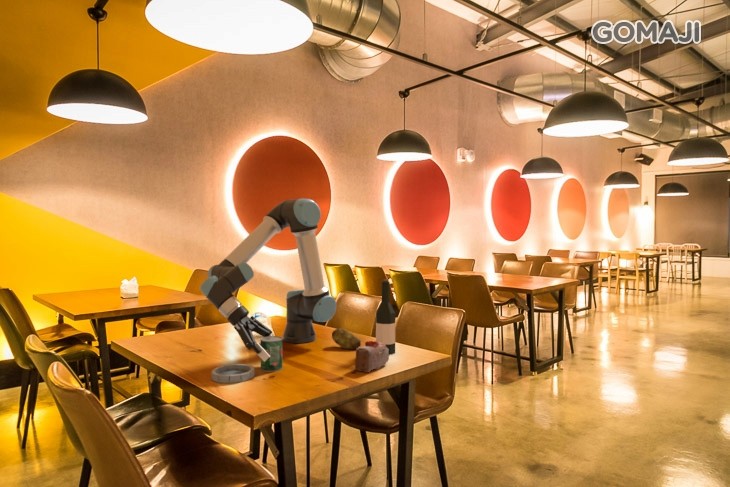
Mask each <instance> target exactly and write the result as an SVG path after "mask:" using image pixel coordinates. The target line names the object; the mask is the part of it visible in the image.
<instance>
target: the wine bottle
mask: <svg viewBox="0 0 730 487" xmlns="http://www.w3.org/2000/svg"><path fill="white" fill-rule="evenodd" d="M390 283H391V282H390V281H389V279H383V280H382V281H381V302H380V304H379V306H377V307H378V308H377V309H376V310H375V342H376V341H377V342H381V343H383V344H385V345H386V347H387V348H388V349H389V352H388V353H389V354H391V355H393V354H396V311H395V310H394V308H393V306H392V304H391V301H390V298H391V296H390V293H391V292H390V285H391V284H390Z"/></svg>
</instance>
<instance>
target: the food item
mask: <svg viewBox="0 0 730 487" xmlns="http://www.w3.org/2000/svg"><path fill="white" fill-rule="evenodd" d="M388 352H389V349H388V348H387V347H386V345H385V344H383V343H381V342H377V341H376V340H375V341H373V340H371V341H369V340H368V341H365V342H364V345H363V346H360V347H358V348H357V349H355V361H354V362H355V367H354V369H355V371H357V370H358V371H357V372H361V371H363V373H366V372H369V373H370V372H372V371H373V369H374V370H380V368H381V367H383V366H384V365H387V363H388V361H389V359H390V358H389V357H390V355H389V353H388ZM371 370H372V371H371Z"/></svg>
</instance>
